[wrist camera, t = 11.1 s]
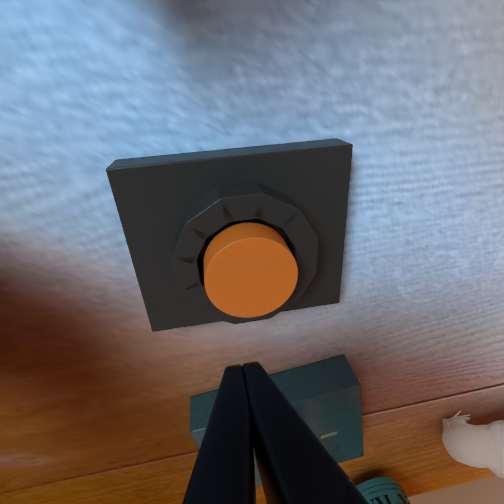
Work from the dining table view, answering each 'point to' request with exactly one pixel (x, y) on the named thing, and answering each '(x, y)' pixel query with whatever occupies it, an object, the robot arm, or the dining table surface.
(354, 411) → the dial console
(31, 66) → the dining table surface
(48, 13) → the dining table surface
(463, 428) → the white lumpy figure
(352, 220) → the dining table surface
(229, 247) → the button
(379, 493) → the beverage bottle
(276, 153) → the button base
